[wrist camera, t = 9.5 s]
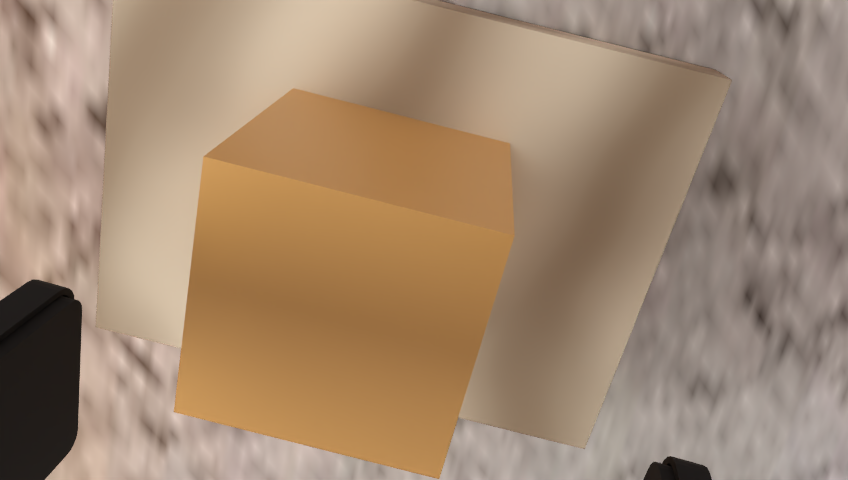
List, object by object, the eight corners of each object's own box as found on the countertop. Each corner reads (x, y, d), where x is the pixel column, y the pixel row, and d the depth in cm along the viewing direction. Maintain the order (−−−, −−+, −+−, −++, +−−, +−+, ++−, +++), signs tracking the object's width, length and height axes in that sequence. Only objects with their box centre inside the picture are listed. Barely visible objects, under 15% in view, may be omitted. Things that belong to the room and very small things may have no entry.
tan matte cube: (510, 143, 20) (514, 235, 14) (455, 330, 22) (438, 479, 16) (293, 87, 20) (203, 156, 14) (262, 281, 22) (174, 412, 16)
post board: (715, 69, 20) (798, 123, 14) (579, 420, 25) (602, 560, 19) (143, -74, 20) (6, -76, 14) (117, 304, 25) (8, 412, 19)
